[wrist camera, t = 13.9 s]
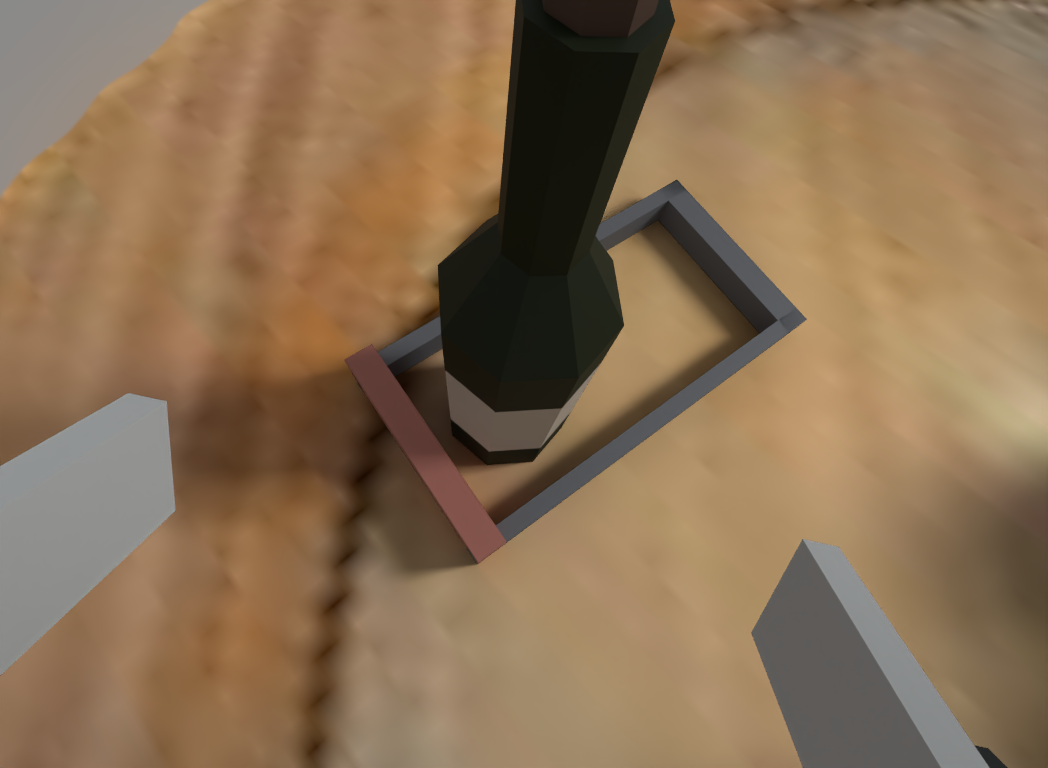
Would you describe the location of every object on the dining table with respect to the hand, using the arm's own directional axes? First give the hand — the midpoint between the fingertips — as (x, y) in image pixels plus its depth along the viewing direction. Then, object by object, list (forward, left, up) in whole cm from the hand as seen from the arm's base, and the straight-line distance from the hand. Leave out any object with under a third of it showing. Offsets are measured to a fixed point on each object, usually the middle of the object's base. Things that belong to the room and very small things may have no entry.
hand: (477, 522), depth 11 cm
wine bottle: (-8, -7, -25) cm, 27 cm away
